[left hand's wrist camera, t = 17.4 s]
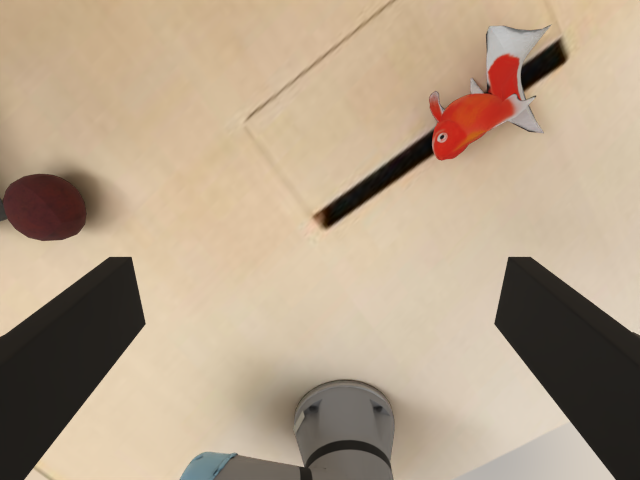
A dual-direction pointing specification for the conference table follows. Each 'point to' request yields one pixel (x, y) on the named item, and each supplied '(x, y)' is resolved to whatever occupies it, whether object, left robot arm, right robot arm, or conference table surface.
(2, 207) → the bar
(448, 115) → the fish
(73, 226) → the dark maroon ball
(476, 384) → the conference table surface
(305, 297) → the conference table surface
